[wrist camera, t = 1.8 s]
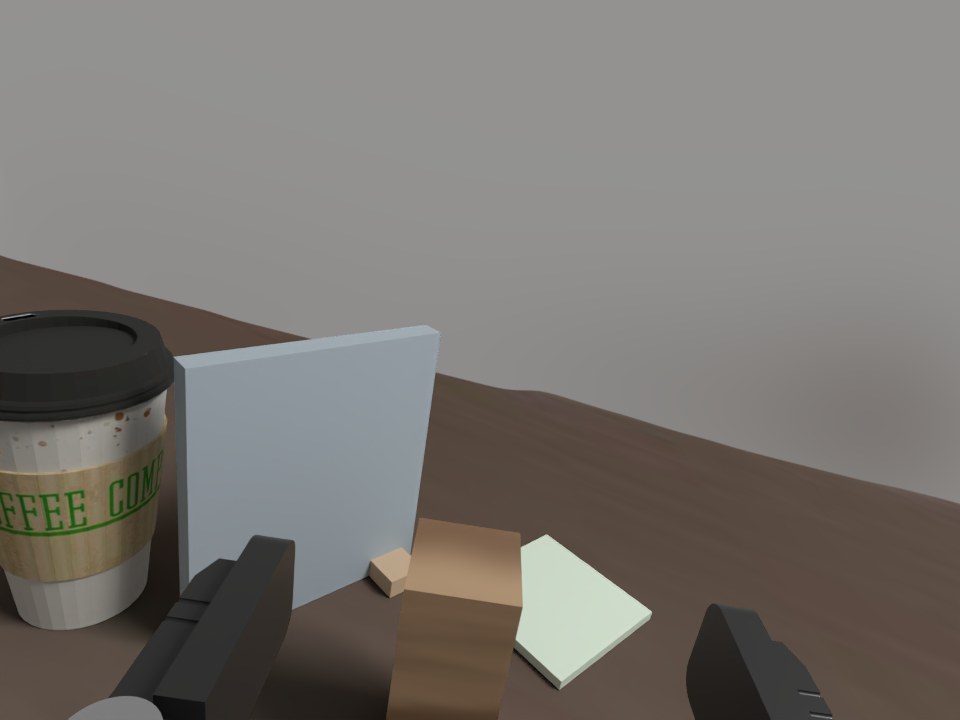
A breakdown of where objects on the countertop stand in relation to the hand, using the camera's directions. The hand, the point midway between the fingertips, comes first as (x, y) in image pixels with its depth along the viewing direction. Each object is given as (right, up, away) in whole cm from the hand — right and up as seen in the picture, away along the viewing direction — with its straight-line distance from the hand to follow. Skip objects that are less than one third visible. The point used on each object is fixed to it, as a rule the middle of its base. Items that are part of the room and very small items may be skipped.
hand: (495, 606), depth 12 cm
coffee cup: (-22, -8, +23) cm, 33 cm away
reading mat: (+4, -11, +27) cm, 30 cm away
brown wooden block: (-2, -14, +17) cm, 22 cm away
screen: (-11, -9, +25) cm, 29 cm away
